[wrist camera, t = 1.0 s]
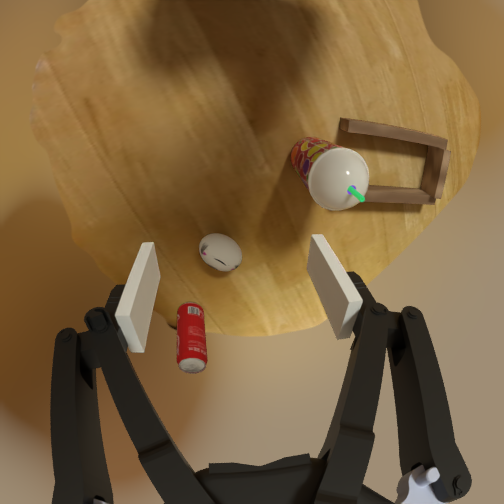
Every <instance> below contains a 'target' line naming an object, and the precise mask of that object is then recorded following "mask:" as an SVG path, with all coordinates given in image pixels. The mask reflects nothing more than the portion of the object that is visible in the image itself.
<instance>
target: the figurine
mask: <svg viewBox="0 0 504 504" xmlns="http://www.w3.org/2000/svg"><path fill="white" fill-rule="evenodd" d="M199 252H200V255H201V257H202V259H203V260H204V261H205V262H206V263H207V264H208V265H209V266H210V267H212V268H214V269H216V270H219V271H231V270H234V269H236V268H237V267H238V266H239V265H240V263H241V261H242V252H241V249H240V247H239V246H238V244H237V243H236V242H235V241H234V240H233V239H231V238H230V237H228V236H226V235H223V234H219V233H213V234H209V235H206V236H205V237H204V238H203V239H202V240H201V242H200V245H199Z"/></svg>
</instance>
